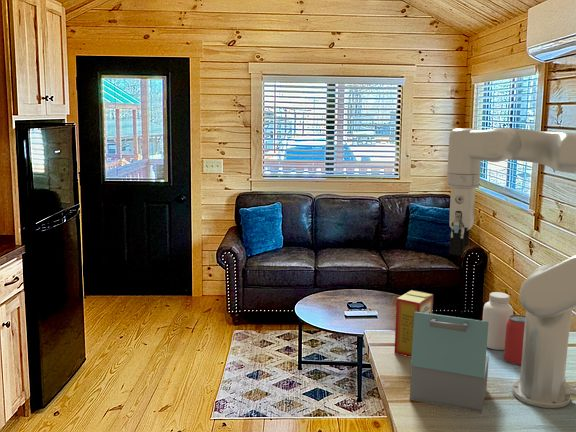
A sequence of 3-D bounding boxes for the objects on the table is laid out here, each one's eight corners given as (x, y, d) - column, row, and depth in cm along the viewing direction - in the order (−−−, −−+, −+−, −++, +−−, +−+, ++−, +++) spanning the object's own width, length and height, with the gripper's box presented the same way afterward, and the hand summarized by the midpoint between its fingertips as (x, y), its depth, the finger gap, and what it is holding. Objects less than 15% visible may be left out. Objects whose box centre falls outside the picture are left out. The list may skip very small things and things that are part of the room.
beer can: (504, 364, 160) (508, 321, 158) (502, 354, 166) (505, 312, 164) (531, 367, 158) (535, 323, 156) (528, 357, 165) (531, 315, 162)
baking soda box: (416, 358, 163) (419, 301, 160) (394, 352, 167) (396, 297, 164) (430, 347, 171) (433, 293, 168) (409, 342, 174) (411, 288, 171)
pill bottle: (512, 351, 168) (516, 300, 165) (482, 349, 170) (485, 298, 167) (508, 341, 176) (512, 291, 173) (479, 338, 177) (482, 289, 174)
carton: (486, 390, 145) (488, 356, 144) (481, 413, 134) (484, 377, 133) (419, 378, 151) (421, 345, 150) (409, 399, 140) (411, 364, 139)
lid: (488, 321, 132) (486, 326, 127) (484, 377, 133) (482, 384, 128) (414, 311, 138) (410, 316, 133) (411, 364, 139) (407, 371, 134)
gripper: (475, 185, 136) (470, 259, 139) (482, 177, 152) (478, 244, 155) (441, 183, 139) (437, 256, 142) (451, 175, 154) (448, 241, 158)
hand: (458, 250), depth 148 cm, fingers open, 9 cm apart
